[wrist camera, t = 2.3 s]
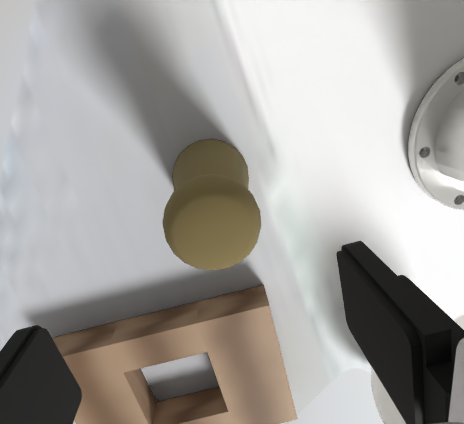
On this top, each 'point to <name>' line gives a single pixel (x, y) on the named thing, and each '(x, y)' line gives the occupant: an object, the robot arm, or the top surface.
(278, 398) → the tan flat frame
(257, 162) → the top surface
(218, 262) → the cork
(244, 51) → the top surface
